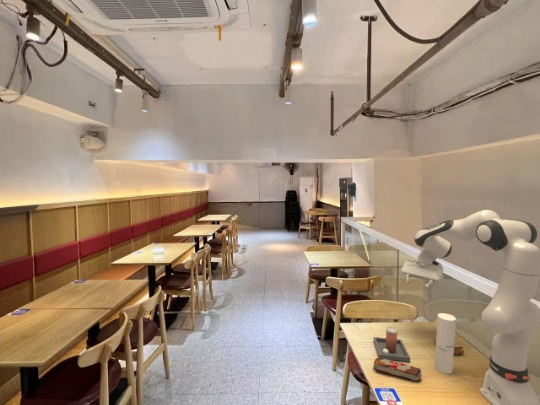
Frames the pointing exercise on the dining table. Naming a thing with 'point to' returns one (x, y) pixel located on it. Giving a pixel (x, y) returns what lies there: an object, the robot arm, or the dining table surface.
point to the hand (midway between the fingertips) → (417, 285)
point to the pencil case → (397, 369)
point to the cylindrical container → (445, 343)
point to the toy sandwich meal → (457, 348)
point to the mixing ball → (385, 351)
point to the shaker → (391, 339)
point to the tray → (399, 356)
